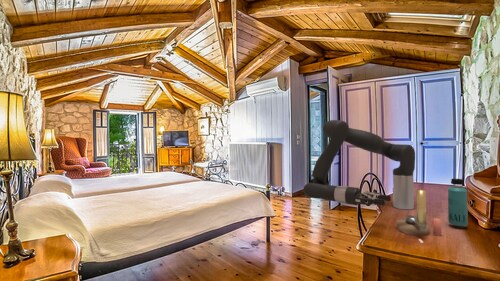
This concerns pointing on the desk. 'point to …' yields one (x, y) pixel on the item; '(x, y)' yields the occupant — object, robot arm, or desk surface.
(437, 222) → the post
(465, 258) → the desk surface
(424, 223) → the crank
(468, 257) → the desk surface
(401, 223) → the crank plinth
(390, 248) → the desk surface
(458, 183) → the beverage bottle
